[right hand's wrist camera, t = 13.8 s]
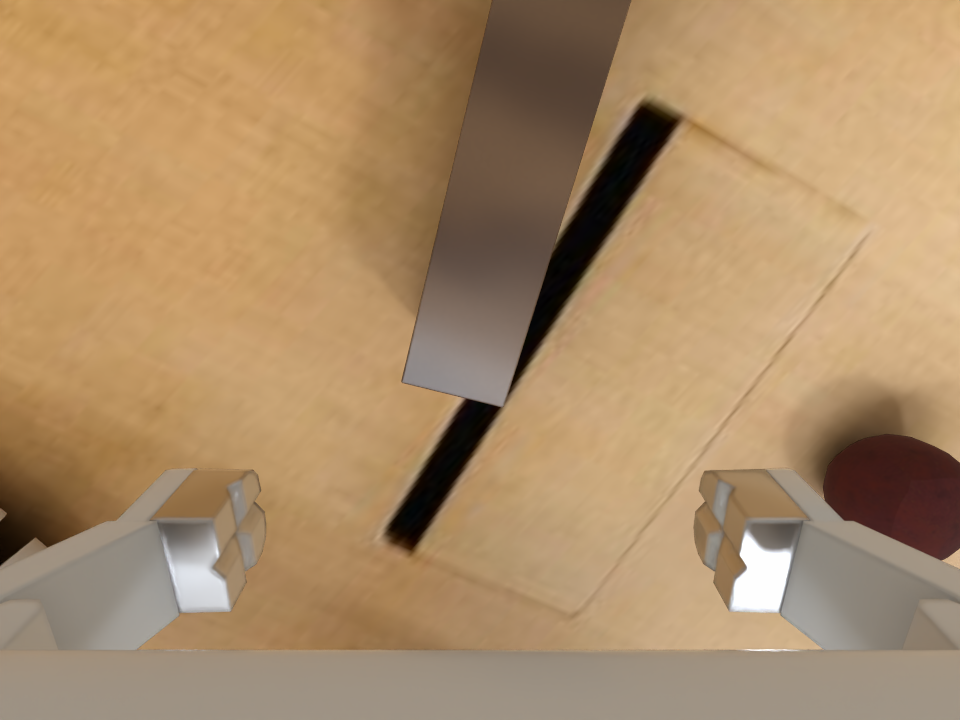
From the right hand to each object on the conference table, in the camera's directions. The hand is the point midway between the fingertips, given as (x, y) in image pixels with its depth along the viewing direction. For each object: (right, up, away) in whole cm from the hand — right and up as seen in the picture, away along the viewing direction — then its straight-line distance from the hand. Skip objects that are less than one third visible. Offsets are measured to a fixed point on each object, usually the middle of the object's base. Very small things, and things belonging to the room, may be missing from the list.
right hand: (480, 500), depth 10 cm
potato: (+25, -5, +27) cm, 37 cm away
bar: (+2, +15, +20) cm, 25 cm away
